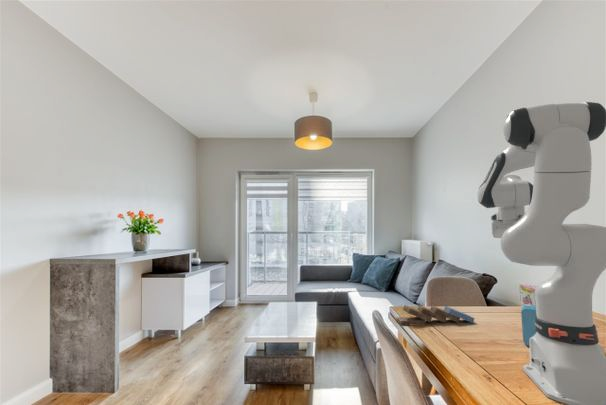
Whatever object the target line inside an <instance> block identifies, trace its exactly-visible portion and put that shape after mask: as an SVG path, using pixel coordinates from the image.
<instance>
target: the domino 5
mask: <svg viewBox="0 0 606 405" xmlns="http://www.w3.org/2000/svg"><path fill="white" fill-rule="evenodd" d="M443 310H444V311H446V312H447V313H449V314H451V315H454V316H456V317H459V318H460V320H461V319H462V320H463V321H467V322H469V323H471V324H474V322H475V318H474V317H473V316H471V315H470V314H467V313H465V312H462V311H460V310H458V309H454V308H452V307H450V306H448V305H445V306H444V308H443Z"/></svg>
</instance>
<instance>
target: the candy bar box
mask: <svg viewBox="0 0 606 405" xmlns="http://www.w3.org/2000/svg"><path fill="white" fill-rule="evenodd" d="M537 286H538V285H534V284H519V295H520V296H519V297H520V308H521V309H520V310H521V311H522V308H523V307H524V306H533V307H536V301H535V289H536V287H537Z"/></svg>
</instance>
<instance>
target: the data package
mask: <svg viewBox="0 0 606 405" xmlns="http://www.w3.org/2000/svg"><path fill="white" fill-rule="evenodd" d="M520 313H521V314H520V315H521V328H522V331H521V332H522V341H523V344H524V345H526V346H527V347H529V348H530V343H529V339H530V338H531V337H533V336H534V335H535V334H536V332H537V331H536V330H535V316H537V314H536V307H533V306H524V307H523V308H522V310H521V312H520Z"/></svg>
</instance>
